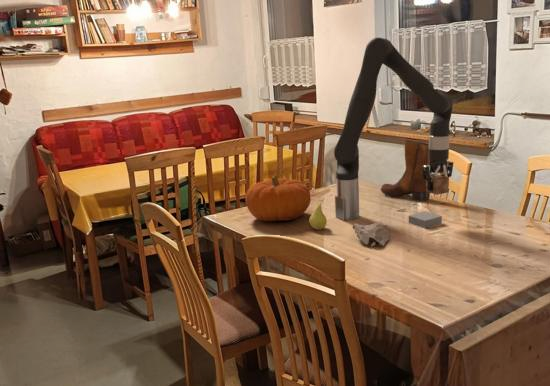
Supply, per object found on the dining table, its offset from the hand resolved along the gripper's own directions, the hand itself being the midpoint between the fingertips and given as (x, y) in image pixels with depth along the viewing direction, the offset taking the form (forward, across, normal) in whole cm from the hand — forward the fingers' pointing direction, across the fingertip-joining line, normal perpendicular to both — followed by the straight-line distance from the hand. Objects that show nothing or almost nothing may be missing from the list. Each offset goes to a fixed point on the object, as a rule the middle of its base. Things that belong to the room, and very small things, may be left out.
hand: (436, 189), depth 216 cm
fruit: (+16, +39, -24) cm, 49 cm away
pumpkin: (+17, +45, -47) cm, 68 cm away
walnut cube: (+1, 0, 0) cm, 1 cm away
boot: (+15, -17, -38) cm, 44 cm away
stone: (+16, +30, -2) cm, 34 cm away
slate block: (+15, +2, -4) cm, 16 cm away
